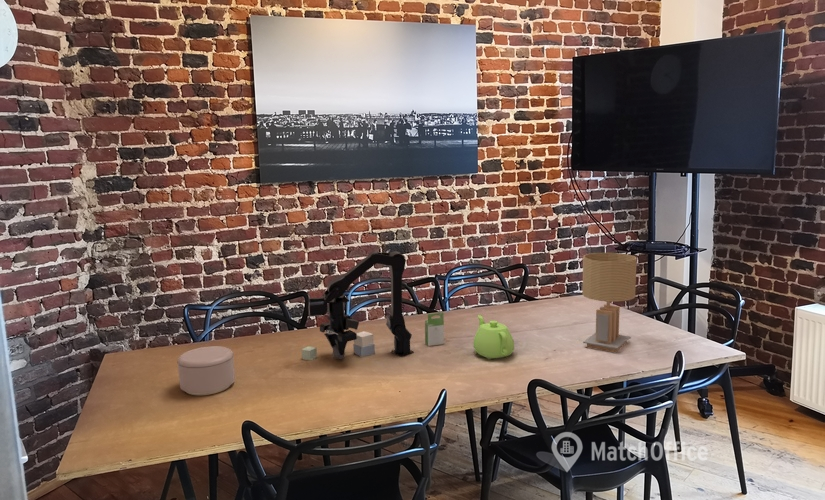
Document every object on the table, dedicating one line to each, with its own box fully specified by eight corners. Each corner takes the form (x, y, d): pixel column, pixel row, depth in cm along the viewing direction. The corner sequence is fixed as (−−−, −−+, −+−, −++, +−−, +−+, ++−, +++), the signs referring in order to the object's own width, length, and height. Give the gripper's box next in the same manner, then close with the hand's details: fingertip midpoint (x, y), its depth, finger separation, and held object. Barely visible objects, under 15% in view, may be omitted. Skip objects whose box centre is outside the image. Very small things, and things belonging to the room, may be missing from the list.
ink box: (441, 341, 243) (440, 309, 241) (444, 344, 240) (443, 312, 237) (425, 343, 241) (424, 311, 239) (428, 346, 238) (427, 314, 235)
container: (216, 372, 216) (214, 341, 214) (246, 384, 204) (243, 351, 202) (170, 388, 202) (166, 355, 200) (198, 401, 191) (195, 367, 189)
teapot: (462, 347, 235) (461, 315, 233) (495, 342, 241) (495, 311, 238) (488, 365, 215) (488, 331, 213) (524, 359, 220) (524, 325, 218)
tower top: (373, 343, 231) (373, 334, 230) (362, 347, 227) (362, 337, 227) (364, 340, 235) (364, 331, 234) (354, 344, 231) (353, 334, 231)
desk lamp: (624, 356, 220) (627, 263, 214) (573, 347, 232) (575, 258, 226) (639, 342, 236) (643, 255, 230) (591, 334, 247) (593, 251, 241)
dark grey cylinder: (346, 356, 224) (346, 346, 224) (336, 359, 222) (336, 349, 221) (341, 353, 228) (340, 343, 227) (331, 356, 225) (330, 346, 225)
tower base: (374, 354, 231) (374, 344, 230) (361, 357, 228) (361, 347, 227) (367, 350, 236) (366, 340, 235) (353, 353, 232) (353, 343, 232)
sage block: (316, 357, 229) (316, 347, 228) (310, 360, 225) (309, 350, 224) (308, 356, 230) (308, 346, 230) (302, 359, 227) (301, 349, 226)
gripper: (368, 314, 219) (370, 355, 222) (343, 305, 234) (345, 342, 237) (341, 320, 213) (343, 362, 216) (317, 310, 228) (320, 349, 230)
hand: (338, 353), depth 225 cm, fingers closed on dark grey cylinder, 4 cm apart
